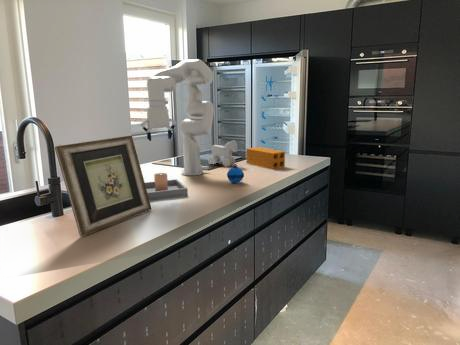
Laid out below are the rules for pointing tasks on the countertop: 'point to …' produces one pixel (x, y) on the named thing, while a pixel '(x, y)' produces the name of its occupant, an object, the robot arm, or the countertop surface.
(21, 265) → the countertop surface
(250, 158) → the brick
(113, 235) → the countertop surface
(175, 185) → the grey square tray
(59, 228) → the countertop surface
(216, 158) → the pony
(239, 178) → the ornament
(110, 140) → the picture frame
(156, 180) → the terracotta cup
